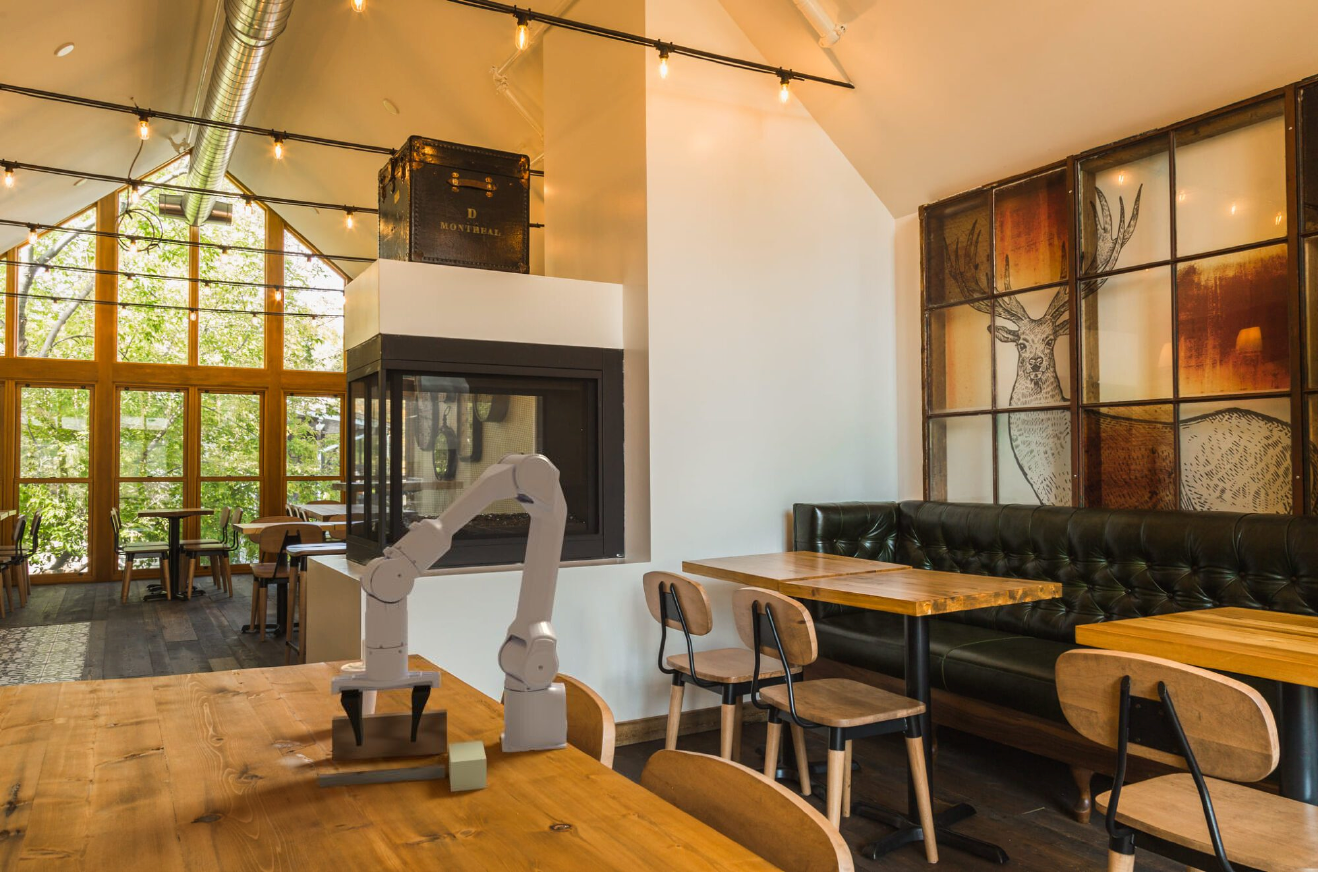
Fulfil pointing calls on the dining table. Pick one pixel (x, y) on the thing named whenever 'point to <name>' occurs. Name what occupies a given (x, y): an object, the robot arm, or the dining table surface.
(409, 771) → the strip
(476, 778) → the cabinet block
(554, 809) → the dining table surface
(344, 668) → the smoothie
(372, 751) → the wall board
